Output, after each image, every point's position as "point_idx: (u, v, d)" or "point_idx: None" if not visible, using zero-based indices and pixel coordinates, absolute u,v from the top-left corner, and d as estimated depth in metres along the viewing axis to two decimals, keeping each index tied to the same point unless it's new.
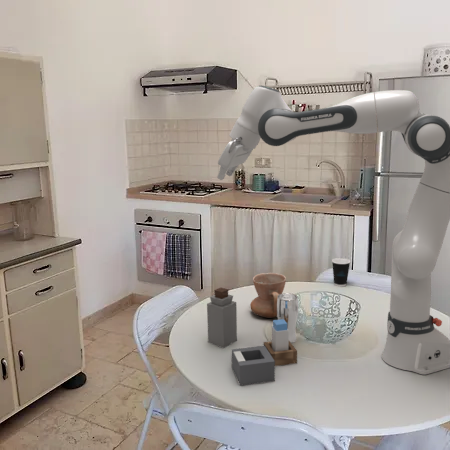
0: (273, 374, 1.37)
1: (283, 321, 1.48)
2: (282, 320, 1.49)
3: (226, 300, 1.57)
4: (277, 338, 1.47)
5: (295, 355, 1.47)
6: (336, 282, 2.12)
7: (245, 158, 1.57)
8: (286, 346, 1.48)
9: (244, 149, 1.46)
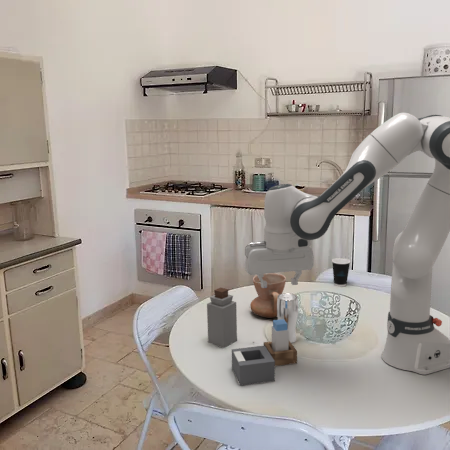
0: (273, 374, 1.37)
1: (283, 321, 1.48)
2: (282, 320, 1.49)
3: (226, 300, 1.57)
4: (277, 338, 1.47)
5: (295, 355, 1.47)
6: (336, 282, 2.12)
7: (306, 263, 1.44)
8: (286, 346, 1.48)
9: (274, 252, 1.41)
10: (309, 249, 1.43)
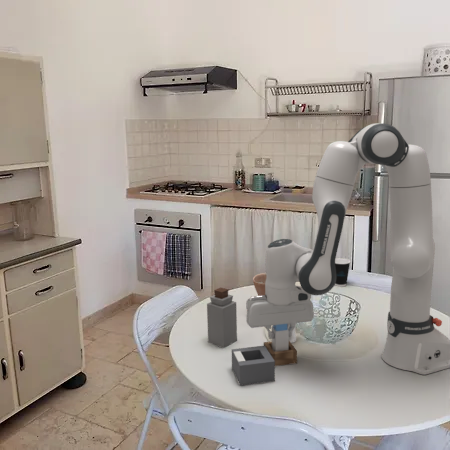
0: (273, 374, 1.37)
1: None
2: None
3: (226, 300, 1.57)
4: (277, 338, 1.47)
5: (295, 355, 1.47)
6: (336, 282, 2.12)
7: (306, 315, 1.47)
8: (286, 346, 1.48)
9: (275, 306, 1.44)
10: (309, 302, 1.46)
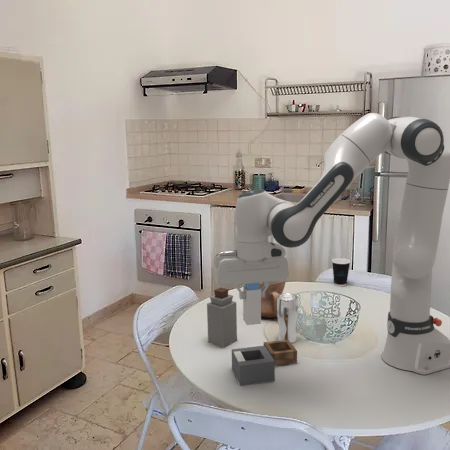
0: (273, 374, 1.37)
1: None
2: None
3: (226, 300, 1.57)
4: (248, 298, 1.34)
5: (295, 355, 1.47)
6: (336, 282, 2.12)
7: (281, 274, 1.35)
8: (258, 307, 1.36)
9: (245, 262, 1.32)
10: (283, 259, 1.34)
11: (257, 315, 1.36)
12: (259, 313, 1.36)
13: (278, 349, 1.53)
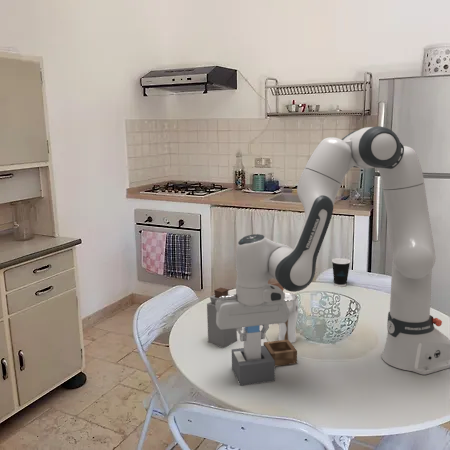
0: (273, 374, 1.37)
1: None
2: None
3: None
4: (249, 340, 1.37)
5: (295, 355, 1.47)
6: (336, 282, 2.12)
7: (280, 316, 1.38)
8: (258, 349, 1.38)
9: (246, 306, 1.35)
10: (283, 302, 1.36)
11: (257, 356, 1.39)
12: (259, 355, 1.39)
13: (278, 349, 1.53)
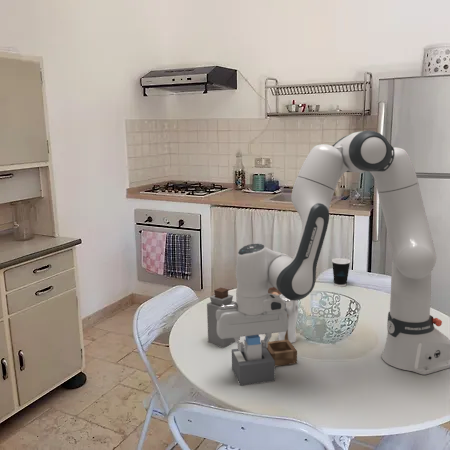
0: (273, 374, 1.37)
1: (256, 335, 1.39)
2: None
3: (226, 300, 1.57)
4: (249, 353, 1.38)
5: (295, 355, 1.47)
6: (336, 282, 2.12)
7: (280, 325, 1.38)
8: None
9: (246, 316, 1.35)
10: (283, 311, 1.37)
11: None
12: None
13: (278, 349, 1.53)
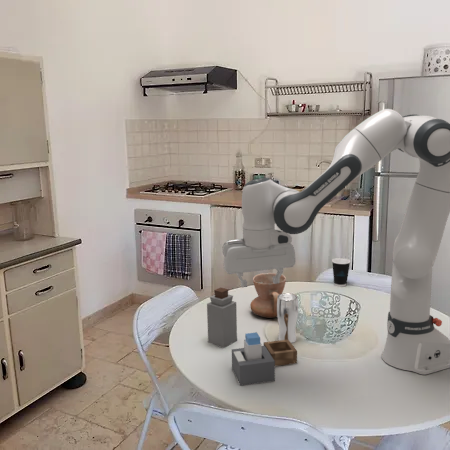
0: (273, 374, 1.37)
1: (256, 335, 1.39)
2: (255, 333, 1.40)
3: (226, 300, 1.57)
4: (249, 353, 1.38)
5: (295, 355, 1.47)
6: (336, 282, 2.12)
7: (288, 260, 1.38)
8: None
9: (253, 250, 1.35)
10: (290, 246, 1.36)
11: None
12: None
13: (278, 349, 1.53)
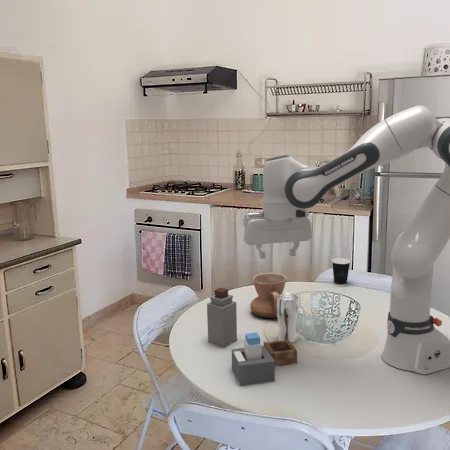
0: (273, 374, 1.37)
1: (256, 335, 1.39)
2: (255, 333, 1.40)
3: (226, 300, 1.57)
4: (249, 353, 1.38)
5: (295, 355, 1.47)
6: (336, 282, 2.12)
7: (304, 234, 1.46)
8: None
9: (272, 223, 1.43)
10: (307, 220, 1.45)
11: None
12: None
13: (278, 349, 1.53)
